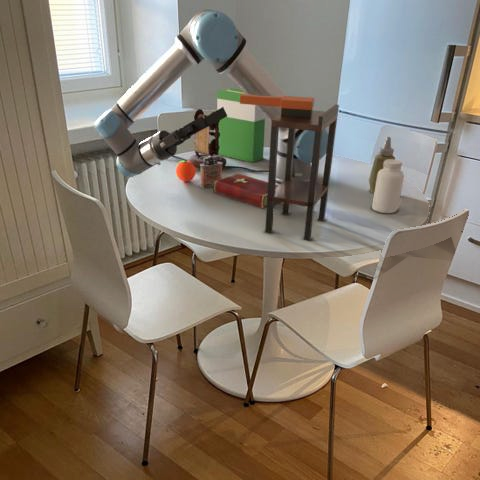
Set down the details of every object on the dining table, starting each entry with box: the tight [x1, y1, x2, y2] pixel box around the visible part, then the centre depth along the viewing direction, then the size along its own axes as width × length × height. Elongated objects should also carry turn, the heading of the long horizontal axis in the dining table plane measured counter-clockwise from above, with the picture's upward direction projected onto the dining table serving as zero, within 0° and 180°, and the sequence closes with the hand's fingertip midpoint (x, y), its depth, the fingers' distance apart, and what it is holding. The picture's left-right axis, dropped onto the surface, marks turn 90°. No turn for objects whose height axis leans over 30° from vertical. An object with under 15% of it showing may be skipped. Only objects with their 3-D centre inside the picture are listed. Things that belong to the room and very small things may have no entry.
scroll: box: [187, 108, 227, 169], centre depth 190 cm, size 15×15×20 cm
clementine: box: [175, 160, 196, 182], centre depth 179 cm, size 8×7×7 cm
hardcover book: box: [213, 173, 280, 209], centre depth 169 cm, size 12×21×4 cm, turn 49°
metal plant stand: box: [264, 104, 340, 241], centre depth 141 cm, size 13×17×32 cm
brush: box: [240, 94, 315, 118], centre depth 133 cm, size 19×6×4 cm, turn 78°
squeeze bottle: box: [368, 136, 396, 194], centre depth 171 cm, size 8×8×18 cm
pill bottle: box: [371, 158, 405, 214], centre depth 158 cm, size 8×8×15 cm
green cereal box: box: [216, 87, 266, 163], centre depth 202 cm, size 18×7×24 cm, turn 55°
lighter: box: [200, 155, 223, 189], centre depth 175 cm, size 8×3×10 cm, turn 117°
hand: (215, 116), depth 142 cm, fingers open, 13 cm apart
